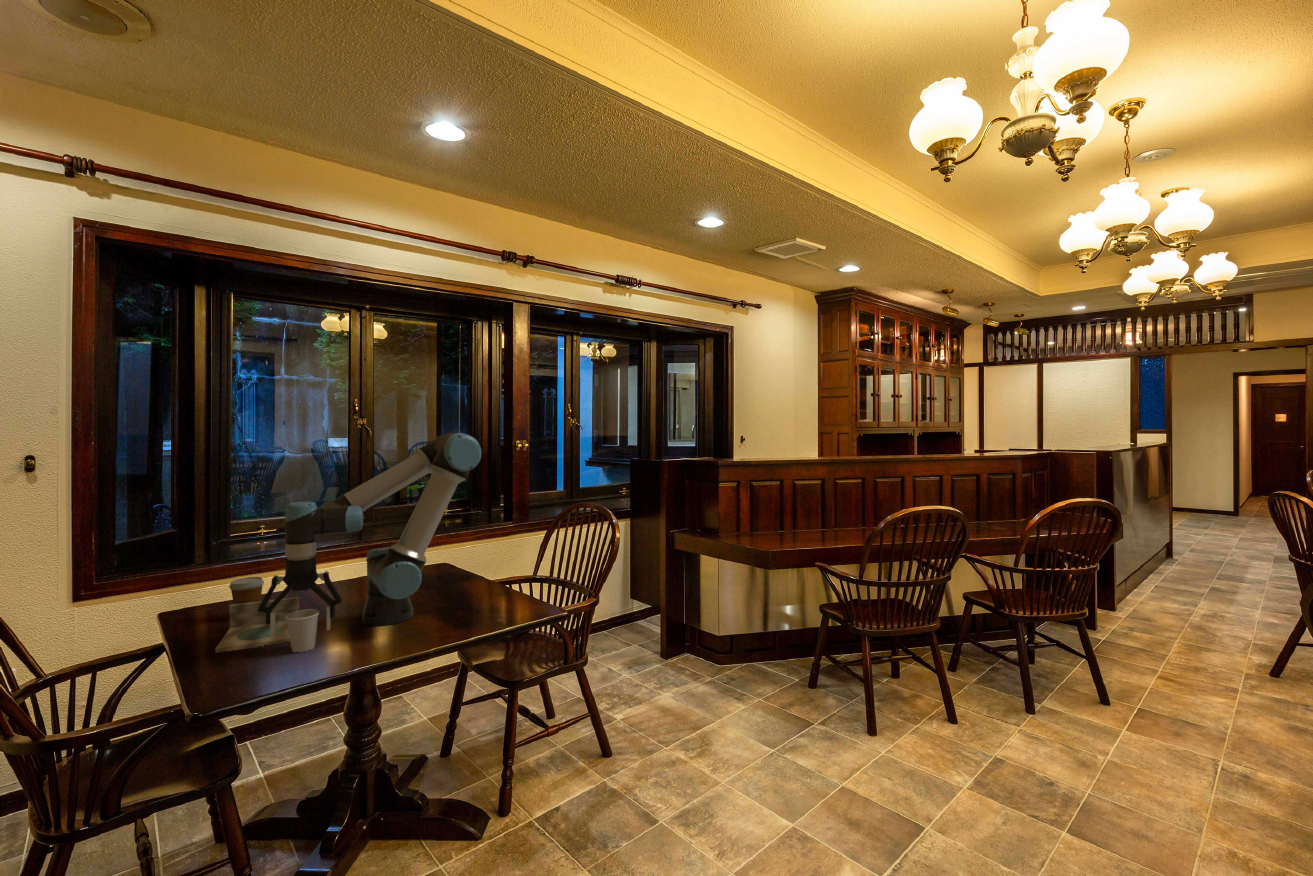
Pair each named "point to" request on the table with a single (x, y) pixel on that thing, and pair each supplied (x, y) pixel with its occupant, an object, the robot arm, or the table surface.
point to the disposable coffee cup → (246, 590)
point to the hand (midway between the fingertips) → (301, 632)
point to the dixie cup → (302, 629)
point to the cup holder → (256, 625)
